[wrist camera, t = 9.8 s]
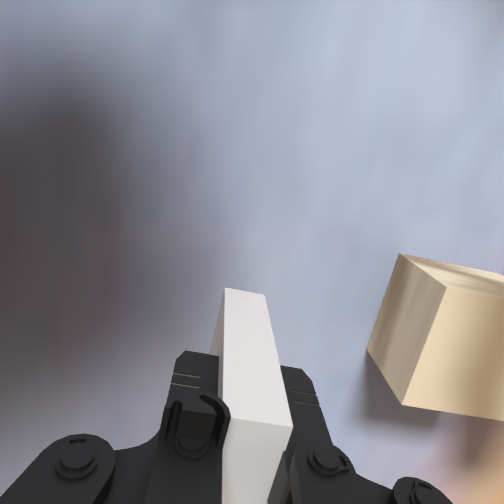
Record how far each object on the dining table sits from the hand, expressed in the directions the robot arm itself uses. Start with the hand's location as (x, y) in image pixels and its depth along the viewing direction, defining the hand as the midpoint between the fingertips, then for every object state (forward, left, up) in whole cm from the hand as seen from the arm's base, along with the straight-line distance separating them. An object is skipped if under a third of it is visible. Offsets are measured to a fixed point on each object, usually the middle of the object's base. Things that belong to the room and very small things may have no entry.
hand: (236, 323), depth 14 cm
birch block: (+12, 0, -7) cm, 13 cm away
